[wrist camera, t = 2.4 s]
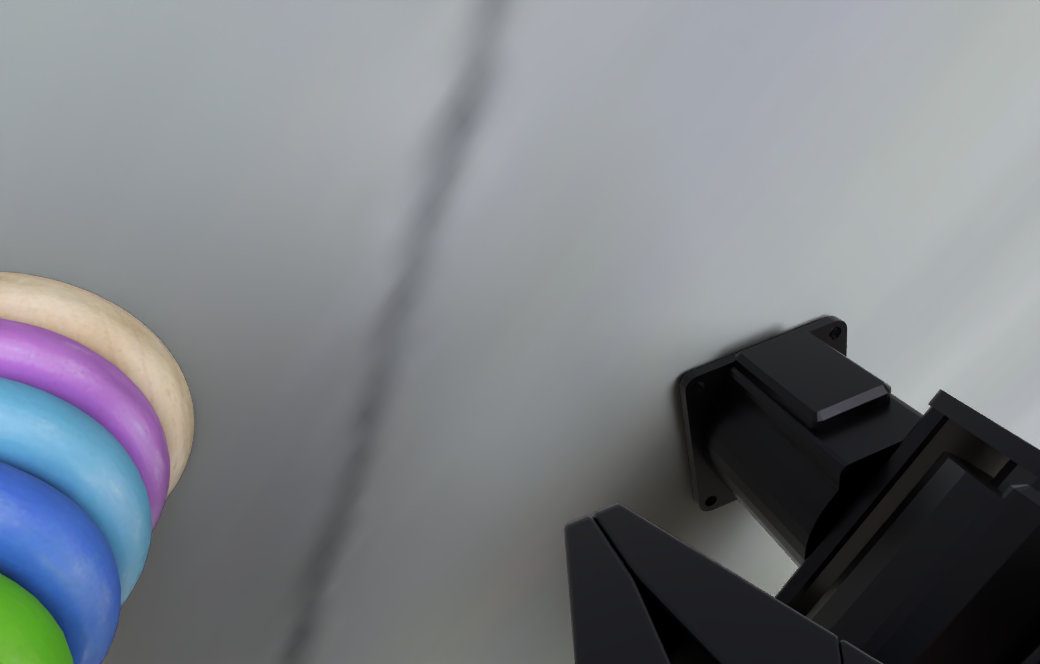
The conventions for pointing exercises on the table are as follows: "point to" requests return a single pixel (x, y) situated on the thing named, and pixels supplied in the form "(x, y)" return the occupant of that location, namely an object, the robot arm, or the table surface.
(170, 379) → the stacking toy
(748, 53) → the table surface
